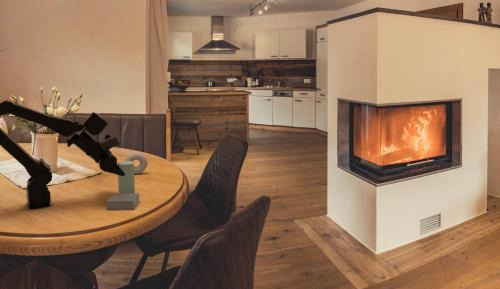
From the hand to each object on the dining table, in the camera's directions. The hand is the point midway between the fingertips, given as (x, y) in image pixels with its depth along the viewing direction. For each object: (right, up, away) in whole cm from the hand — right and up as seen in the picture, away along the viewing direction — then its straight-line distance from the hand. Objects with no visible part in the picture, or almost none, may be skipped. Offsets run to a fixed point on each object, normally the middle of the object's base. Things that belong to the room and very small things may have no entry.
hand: (122, 172), depth 152 cm
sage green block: (+1, -9, +2) cm, 9 cm away
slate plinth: (+3, -11, -9) cm, 15 cm away
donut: (-4, -3, +34) cm, 34 cm away
